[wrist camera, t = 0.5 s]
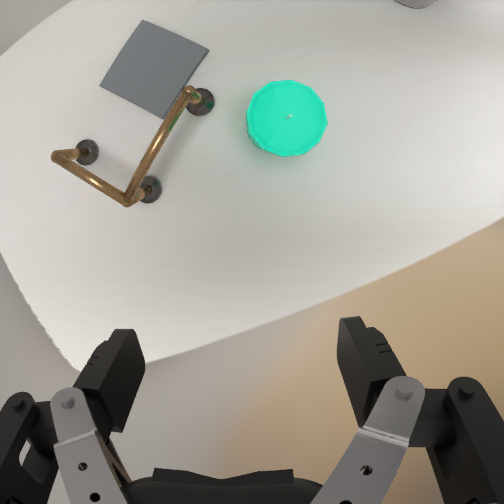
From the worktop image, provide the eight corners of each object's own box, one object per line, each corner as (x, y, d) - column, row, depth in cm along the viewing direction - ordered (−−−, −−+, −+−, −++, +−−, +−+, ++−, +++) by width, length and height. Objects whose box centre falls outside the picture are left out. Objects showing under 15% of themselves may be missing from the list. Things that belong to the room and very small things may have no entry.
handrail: (130, 52, 27) (104, 33, 20) (219, 97, 30) (212, 84, 23) (73, 158, 31) (37, 164, 24) (153, 207, 34) (131, 224, 27)
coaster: (143, 21, 26) (142, 19, 26) (209, 50, 28) (208, 49, 27) (101, 86, 29) (99, 85, 28) (163, 119, 30) (162, 118, 30)
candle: (234, 131, 31) (228, 124, 20) (267, 87, 30) (280, 58, 18) (281, 164, 32) (300, 175, 21) (313, 120, 31) (349, 110, 20)
